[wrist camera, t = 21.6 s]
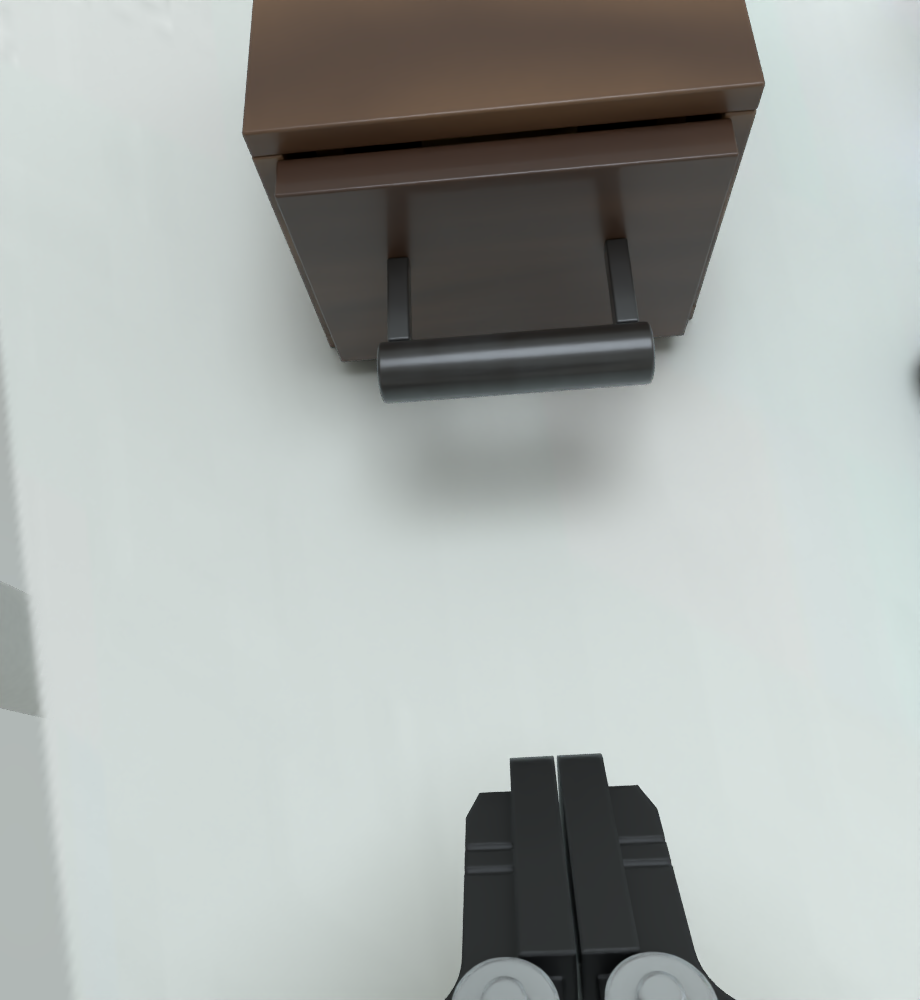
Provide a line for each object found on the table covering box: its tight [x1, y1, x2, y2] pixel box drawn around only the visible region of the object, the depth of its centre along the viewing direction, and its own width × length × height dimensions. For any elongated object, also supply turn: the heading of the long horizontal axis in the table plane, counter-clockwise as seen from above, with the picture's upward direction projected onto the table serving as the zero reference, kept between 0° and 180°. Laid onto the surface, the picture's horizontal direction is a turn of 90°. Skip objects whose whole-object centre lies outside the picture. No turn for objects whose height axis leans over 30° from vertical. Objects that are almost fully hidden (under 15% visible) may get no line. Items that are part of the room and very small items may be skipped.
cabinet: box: [242, 0, 765, 348], centre depth 27 cm, size 15×13×10 cm
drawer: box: [275, 116, 739, 403], centre depth 25 cm, size 18×11×8 cm, turn 2°
